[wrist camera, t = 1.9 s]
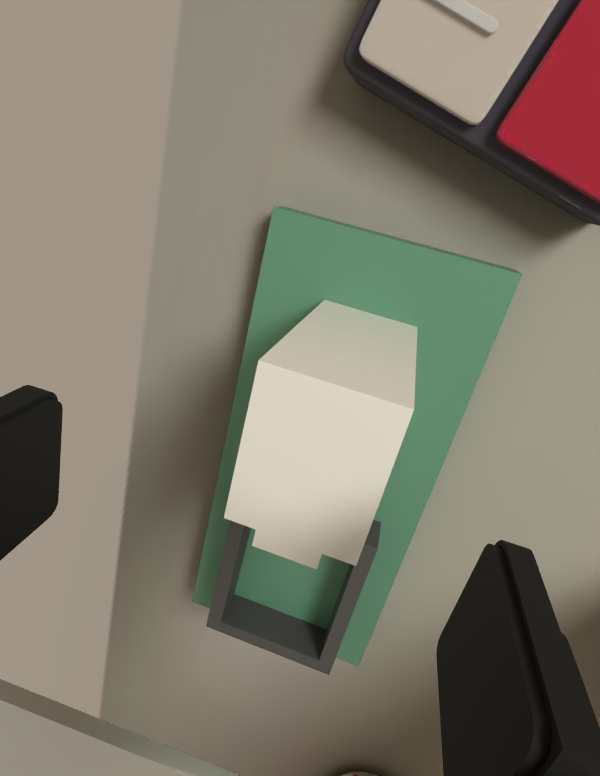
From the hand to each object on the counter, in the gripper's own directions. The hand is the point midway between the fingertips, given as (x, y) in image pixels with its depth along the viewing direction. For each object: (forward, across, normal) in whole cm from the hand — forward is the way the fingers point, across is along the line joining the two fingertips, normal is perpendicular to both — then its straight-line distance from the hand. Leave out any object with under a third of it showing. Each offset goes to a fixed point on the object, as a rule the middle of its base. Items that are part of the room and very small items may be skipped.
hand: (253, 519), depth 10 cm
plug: (+12, -1, 0) cm, 12 cm away
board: (+13, -1, +6) cm, 15 cm away
